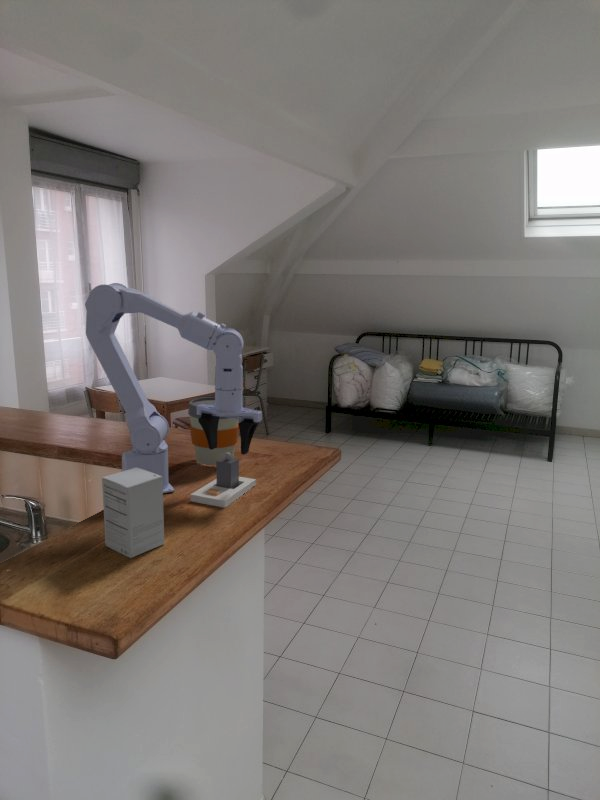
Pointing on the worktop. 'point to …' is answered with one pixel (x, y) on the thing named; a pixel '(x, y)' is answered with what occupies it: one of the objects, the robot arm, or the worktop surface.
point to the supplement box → (133, 511)
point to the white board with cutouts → (221, 493)
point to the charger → (227, 472)
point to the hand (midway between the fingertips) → (228, 450)
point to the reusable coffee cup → (225, 434)
